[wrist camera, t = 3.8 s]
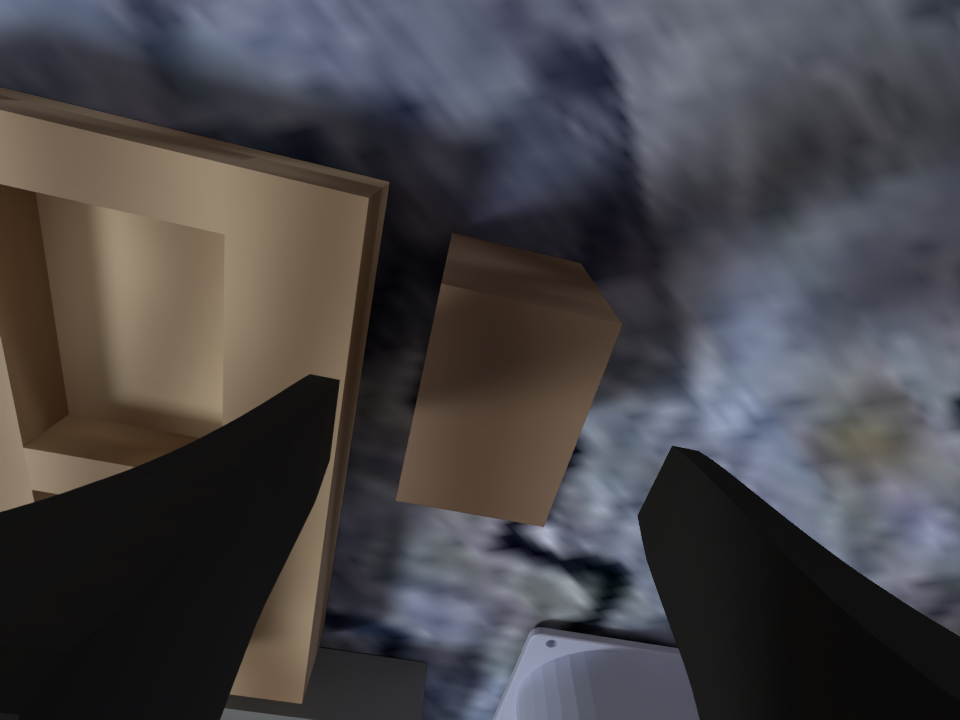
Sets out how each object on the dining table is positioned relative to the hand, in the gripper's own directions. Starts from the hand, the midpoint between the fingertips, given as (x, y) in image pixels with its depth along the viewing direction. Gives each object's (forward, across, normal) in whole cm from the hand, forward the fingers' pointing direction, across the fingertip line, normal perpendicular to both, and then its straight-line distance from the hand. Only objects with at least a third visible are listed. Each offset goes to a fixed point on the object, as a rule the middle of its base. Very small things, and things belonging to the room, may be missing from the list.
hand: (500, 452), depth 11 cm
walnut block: (+6, 0, 0) cm, 6 cm away
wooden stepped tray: (+6, +10, +6) cm, 13 cm away
